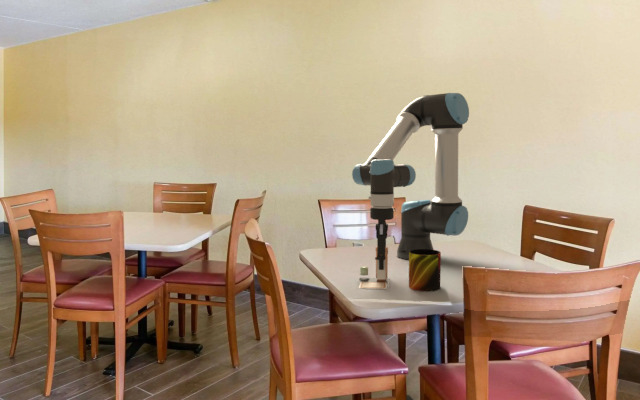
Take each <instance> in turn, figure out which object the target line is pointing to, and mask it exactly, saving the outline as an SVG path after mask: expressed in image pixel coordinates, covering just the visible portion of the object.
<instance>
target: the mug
mask: <svg viewBox="0 0 640 400" xmlns="http://www.w3.org/2000/svg"><path fill="white" fill-rule="evenodd" d="M441 261H442V253H441V251H439V250H437V249H436V250H435V249H434V250H431V249H414V250H410V251H409V259H408V288H409V289H410V290H412V291H419V292H426V293H427V292H429V293H430V292H436V291H439V290H441V265H442V264H441V263H442V262H441Z"/></svg>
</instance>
